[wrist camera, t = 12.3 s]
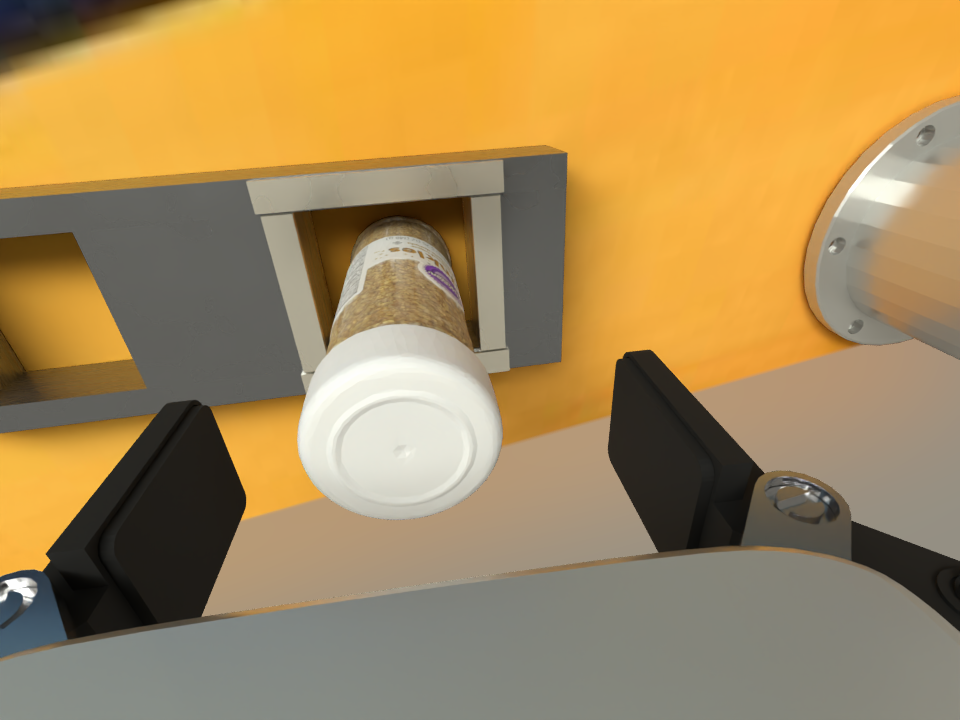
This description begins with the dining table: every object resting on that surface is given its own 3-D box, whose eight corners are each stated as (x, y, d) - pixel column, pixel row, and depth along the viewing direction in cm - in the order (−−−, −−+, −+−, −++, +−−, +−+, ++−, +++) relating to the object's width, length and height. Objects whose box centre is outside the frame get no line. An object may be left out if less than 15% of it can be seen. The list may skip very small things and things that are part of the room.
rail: (545, 145, 20) (570, 153, 18) (544, 333, 25) (562, 364, 22) (-196, 204, 18) (-311, 225, 15) (-49, 405, 22) (-115, 451, 19)
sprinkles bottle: (468, 244, 22) (546, 414, 10) (420, 324, 24) (443, 548, 12) (376, 192, 20) (349, 325, 9) (332, 282, 22) (259, 495, 10)
